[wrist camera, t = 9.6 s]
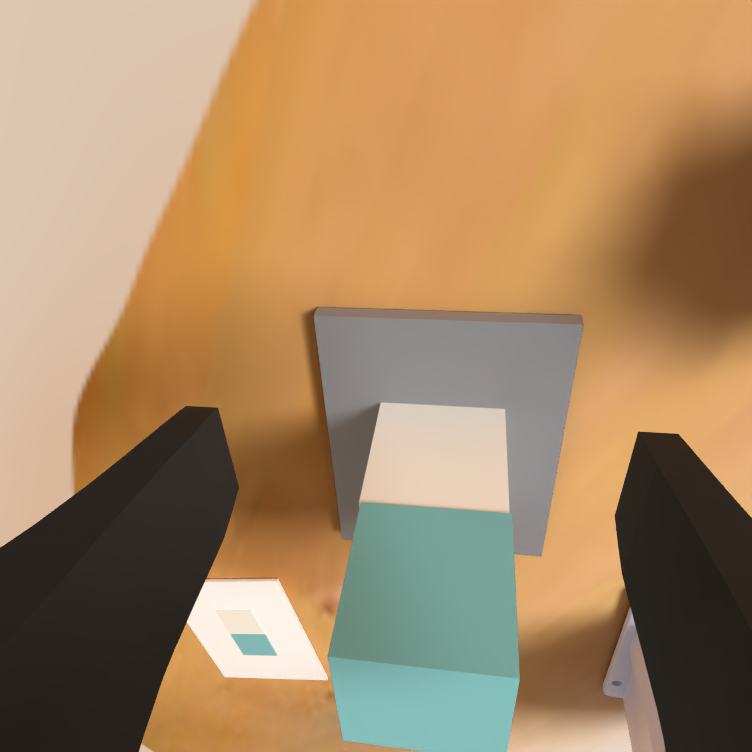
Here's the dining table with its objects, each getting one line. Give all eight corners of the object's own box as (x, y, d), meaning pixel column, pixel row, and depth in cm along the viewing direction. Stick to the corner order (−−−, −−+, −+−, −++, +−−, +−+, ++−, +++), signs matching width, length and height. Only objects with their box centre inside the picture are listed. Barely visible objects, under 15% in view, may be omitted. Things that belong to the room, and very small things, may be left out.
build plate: (540, 545, 27) (541, 556, 27) (344, 528, 28) (341, 539, 28) (581, 315, 20) (583, 324, 20) (317, 307, 21) (313, 315, 21)
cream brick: (496, 495, 25) (498, 603, 21) (385, 487, 25) (367, 590, 21) (505, 409, 22) (509, 514, 18) (380, 402, 23) (358, 502, 19)
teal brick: (500, 602, 21) (504, 762, 17) (369, 589, 21) (343, 740, 17) (511, 513, 18) (519, 678, 14) (360, 501, 19) (327, 656, 15)
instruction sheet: (328, 677, 37) (327, 681, 37) (225, 674, 39) (224, 677, 39) (277, 578, 32) (276, 582, 31) (160, 579, 33) (159, 583, 33)
